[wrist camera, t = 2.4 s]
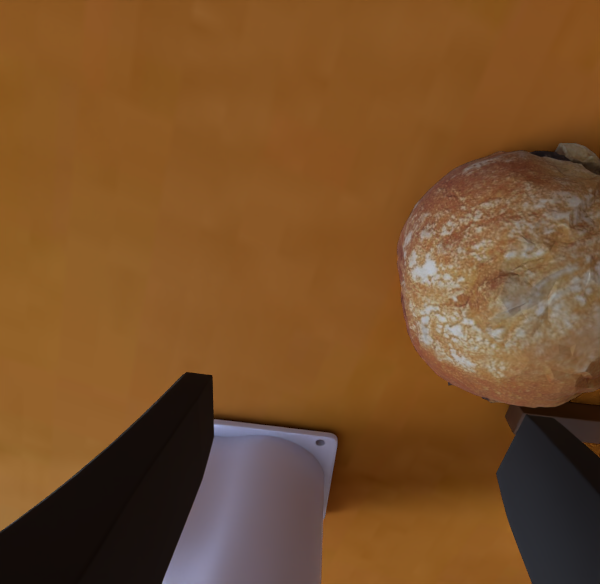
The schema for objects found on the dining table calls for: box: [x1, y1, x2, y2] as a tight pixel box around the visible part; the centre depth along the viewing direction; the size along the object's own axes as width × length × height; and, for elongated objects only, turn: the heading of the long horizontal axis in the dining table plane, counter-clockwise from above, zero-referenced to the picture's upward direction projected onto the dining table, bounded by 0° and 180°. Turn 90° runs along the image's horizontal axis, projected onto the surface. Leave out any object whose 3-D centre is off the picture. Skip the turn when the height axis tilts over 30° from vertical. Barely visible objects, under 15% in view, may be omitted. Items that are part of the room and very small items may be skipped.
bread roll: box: [397, 143, 600, 408], centre depth 15 cm, size 10×10×8 cm
